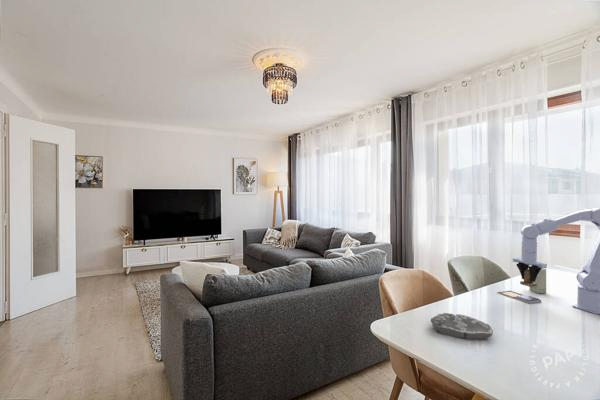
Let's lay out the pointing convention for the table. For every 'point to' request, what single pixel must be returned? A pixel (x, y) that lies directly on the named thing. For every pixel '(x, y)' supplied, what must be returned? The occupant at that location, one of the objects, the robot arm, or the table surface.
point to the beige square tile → (510, 294)
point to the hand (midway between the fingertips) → (528, 280)
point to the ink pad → (528, 299)
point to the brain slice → (461, 326)
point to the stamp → (527, 279)
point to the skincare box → (540, 282)
